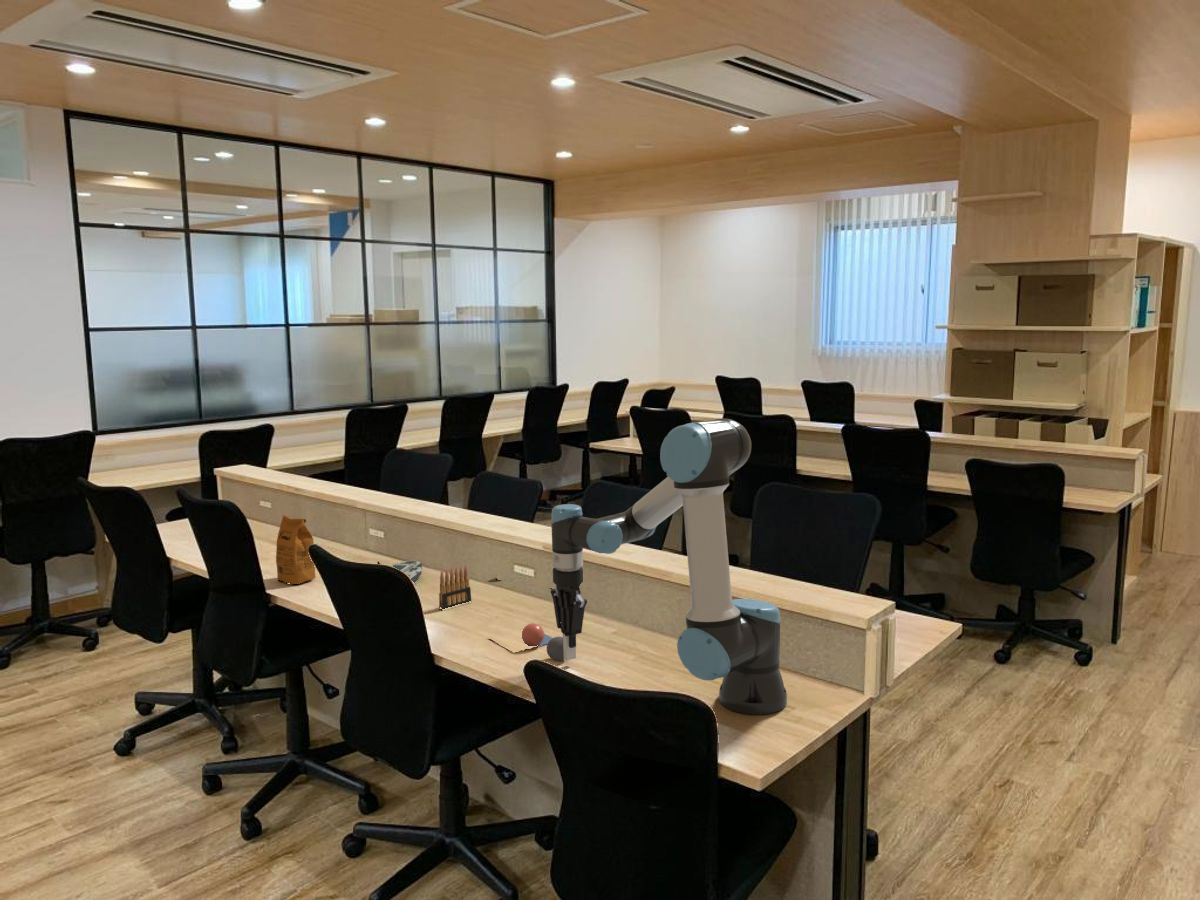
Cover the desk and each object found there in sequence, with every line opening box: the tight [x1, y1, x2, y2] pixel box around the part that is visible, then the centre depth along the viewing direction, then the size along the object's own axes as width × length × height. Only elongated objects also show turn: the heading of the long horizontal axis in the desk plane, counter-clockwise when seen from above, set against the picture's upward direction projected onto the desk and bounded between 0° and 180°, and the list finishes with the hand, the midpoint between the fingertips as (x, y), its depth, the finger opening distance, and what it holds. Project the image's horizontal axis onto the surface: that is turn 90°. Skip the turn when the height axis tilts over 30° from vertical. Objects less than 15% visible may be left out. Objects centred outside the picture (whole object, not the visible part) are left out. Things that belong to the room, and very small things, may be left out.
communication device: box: [376, 560, 423, 584], centre depth 309 cm, size 12×24×9 cm, turn 175°
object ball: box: [522, 622, 545, 646], centre depth 244 cm, size 6×6×6 cm
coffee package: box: [275, 514, 316, 585], centre depth 306 cm, size 10×12×22 cm
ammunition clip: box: [438, 564, 472, 609], centre depth 277 cm, size 11×2×12 cm, turn 135°
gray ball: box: [546, 636, 565, 661], centre depth 233 cm, size 6×6×6 cm
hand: (569, 658), depth 230 cm, fingers closed
